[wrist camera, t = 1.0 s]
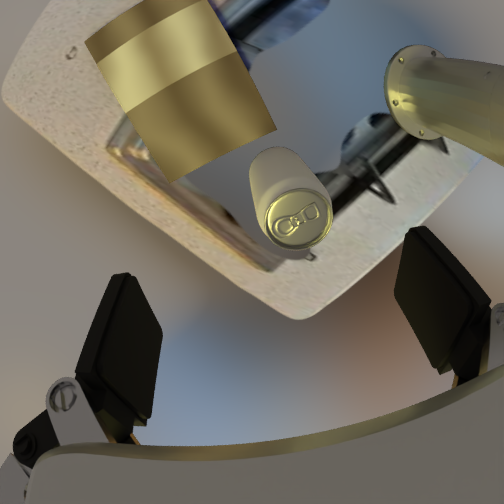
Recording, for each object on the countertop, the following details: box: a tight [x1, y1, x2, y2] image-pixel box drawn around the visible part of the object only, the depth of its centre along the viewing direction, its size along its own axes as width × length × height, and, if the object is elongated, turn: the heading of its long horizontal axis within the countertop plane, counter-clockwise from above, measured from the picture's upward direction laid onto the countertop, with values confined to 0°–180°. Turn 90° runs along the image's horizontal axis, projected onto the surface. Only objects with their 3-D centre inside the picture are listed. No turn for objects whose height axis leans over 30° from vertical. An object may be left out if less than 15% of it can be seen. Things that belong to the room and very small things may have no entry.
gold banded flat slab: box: [84, 0, 277, 183], centre depth 25 cm, size 13×20×2 cm, turn 26°
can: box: [249, 147, 333, 251], centre depth 27 cm, size 6×6×12 cm
